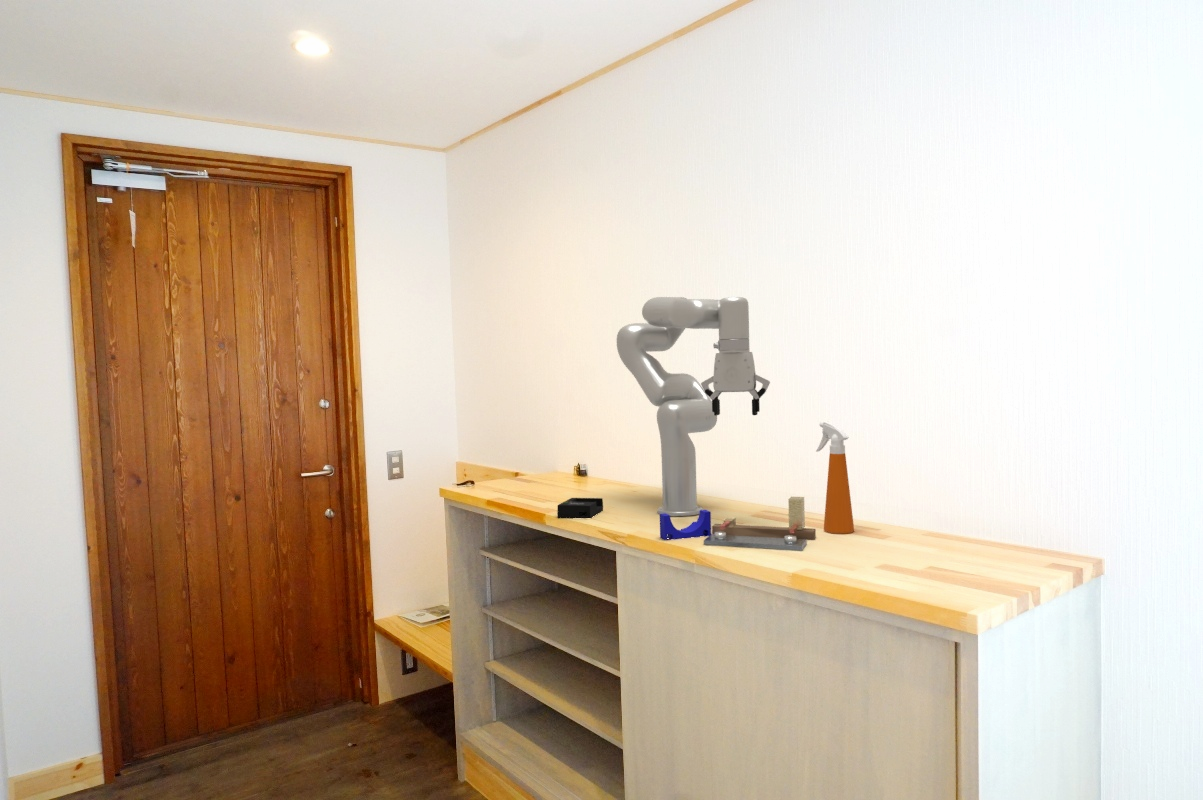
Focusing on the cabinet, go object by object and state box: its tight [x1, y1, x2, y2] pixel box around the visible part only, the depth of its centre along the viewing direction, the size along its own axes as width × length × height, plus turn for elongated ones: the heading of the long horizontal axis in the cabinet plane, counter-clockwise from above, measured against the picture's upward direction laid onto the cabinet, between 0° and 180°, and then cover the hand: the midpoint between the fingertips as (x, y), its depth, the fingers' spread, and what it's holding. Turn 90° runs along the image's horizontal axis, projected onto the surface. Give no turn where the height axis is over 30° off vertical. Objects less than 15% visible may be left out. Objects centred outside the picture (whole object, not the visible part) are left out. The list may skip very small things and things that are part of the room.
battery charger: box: [557, 497, 604, 520], centre depth 221 cm, size 13×10×4 cm
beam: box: [711, 516, 817, 541], centre depth 184 cm, size 10×24×4 cm, turn 67°
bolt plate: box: [703, 532, 808, 552], centre depth 178 cm, size 7×22×2 cm, turn 67°
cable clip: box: [659, 509, 712, 541], centre depth 188 cm, size 12×4×6 cm, turn 107°
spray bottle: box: [815, 421, 855, 535], centre depth 190 cm, size 7×11×26 cm, turn 25°
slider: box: [787, 496, 806, 533], centre depth 180 cm, size 10×3×7 cm, turn 157°
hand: (735, 415), depth 197 cm, fingers open, 9 cm apart
